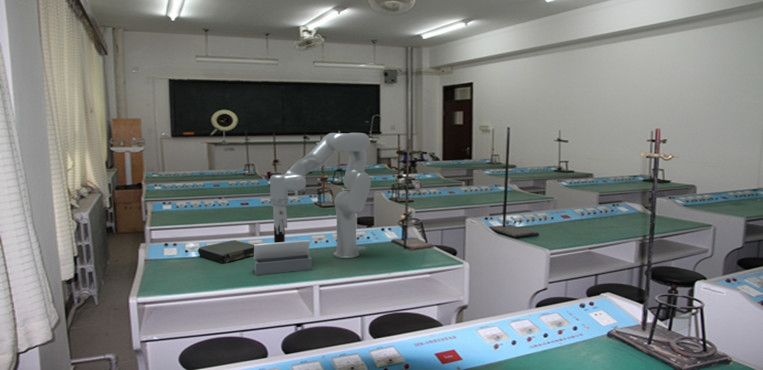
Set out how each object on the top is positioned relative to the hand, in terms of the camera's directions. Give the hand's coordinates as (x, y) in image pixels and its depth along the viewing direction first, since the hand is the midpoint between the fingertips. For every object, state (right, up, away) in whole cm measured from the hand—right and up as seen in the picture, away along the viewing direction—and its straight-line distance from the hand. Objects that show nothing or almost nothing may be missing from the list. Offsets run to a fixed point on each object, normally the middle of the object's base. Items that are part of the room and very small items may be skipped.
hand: (280, 242), depth 216 cm
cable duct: (+3, -11, -6) cm, 13 cm away
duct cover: (+2, -3, -5) cm, 6 cm away
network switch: (-29, -9, +18) cm, 35 cm away
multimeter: (-3, -8, +28) cm, 29 cm away
